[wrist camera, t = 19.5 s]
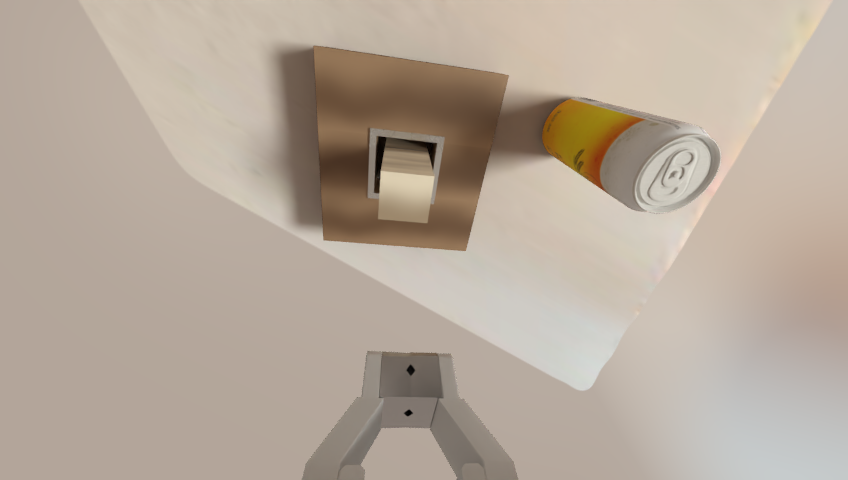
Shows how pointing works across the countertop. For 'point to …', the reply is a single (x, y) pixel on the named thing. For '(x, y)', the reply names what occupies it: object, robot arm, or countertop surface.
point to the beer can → (633, 153)
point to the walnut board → (405, 119)
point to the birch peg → (405, 181)
